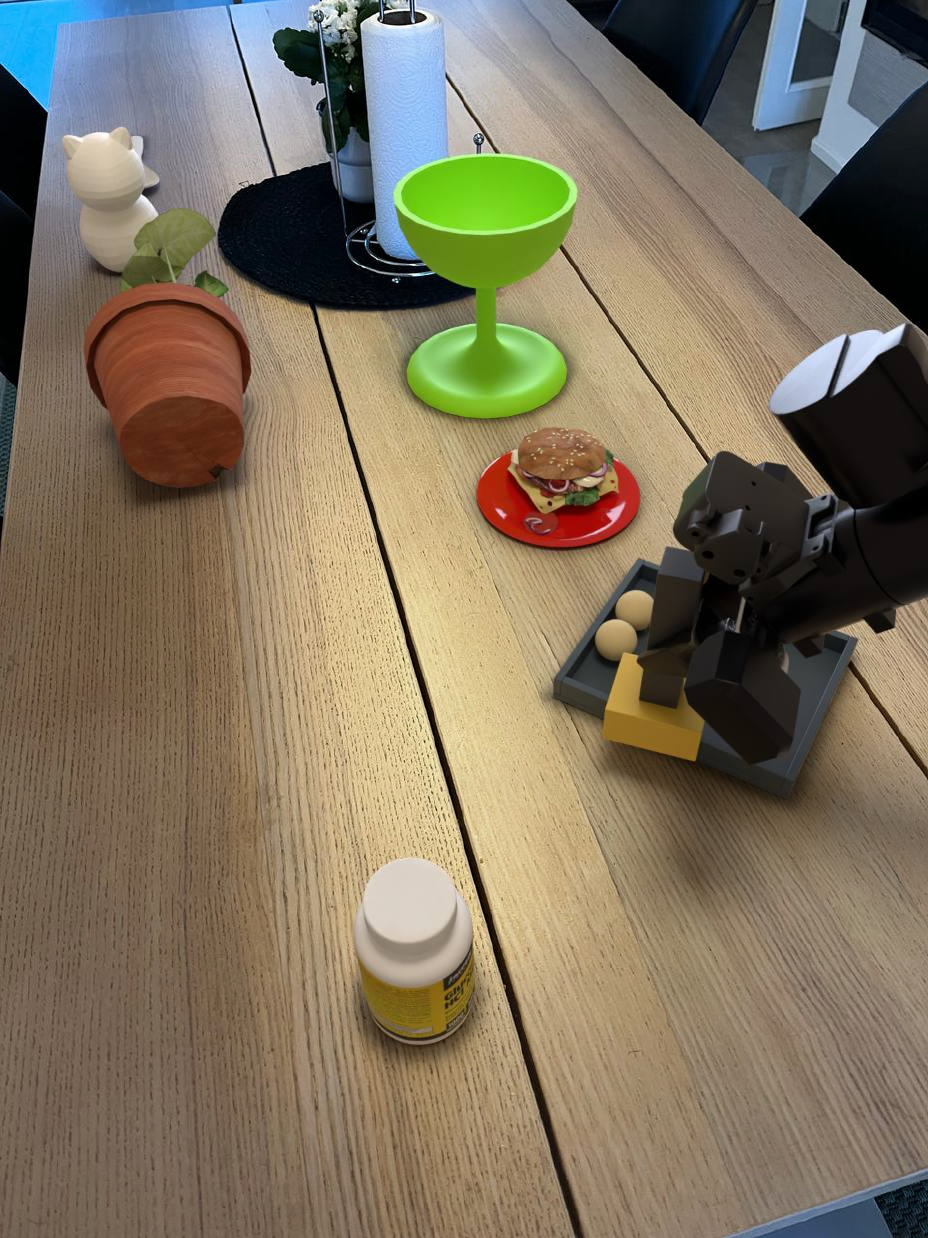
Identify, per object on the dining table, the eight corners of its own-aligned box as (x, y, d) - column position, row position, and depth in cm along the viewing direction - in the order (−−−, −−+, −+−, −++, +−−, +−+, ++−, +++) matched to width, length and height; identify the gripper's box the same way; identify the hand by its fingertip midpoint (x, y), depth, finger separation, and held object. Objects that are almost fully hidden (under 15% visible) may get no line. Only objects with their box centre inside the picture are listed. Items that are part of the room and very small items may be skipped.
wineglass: (549, 428, 95) (557, 243, 82) (385, 405, 98) (368, 224, 85) (580, 338, 105) (592, 161, 92) (432, 319, 108) (423, 146, 95)
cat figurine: (95, 288, 115) (52, 152, 104) (85, 239, 123) (44, 108, 112) (175, 273, 117) (141, 138, 106) (160, 226, 125) (127, 96, 114)
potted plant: (291, 496, 91) (235, 280, 113) (253, 357, 79) (199, 145, 100) (116, 538, 89) (92, 311, 111) (51, 402, 77) (38, 176, 98)
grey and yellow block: (709, 702, 67) (745, 545, 57) (695, 762, 64) (731, 606, 54) (619, 681, 69) (639, 524, 58) (601, 738, 65) (619, 582, 55)
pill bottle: (466, 1056, 56) (461, 968, 48) (356, 1039, 56) (332, 949, 48) (482, 949, 60) (480, 851, 52) (379, 935, 61) (361, 836, 53)
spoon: (130, 200, 130) (127, 187, 129) (119, 138, 144) (116, 126, 142) (163, 195, 131) (160, 182, 129) (149, 134, 144) (146, 122, 143)
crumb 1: (624, 588, 77) (654, 613, 78) (601, 617, 76) (632, 642, 77) (639, 577, 75) (670, 603, 75) (616, 607, 74) (648, 633, 74)
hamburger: (451, 470, 91) (449, 414, 86) (590, 430, 94) (595, 374, 90) (519, 570, 82) (521, 513, 77) (670, 521, 85) (680, 464, 81)
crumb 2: (604, 617, 75) (635, 643, 76) (581, 646, 74) (612, 673, 75) (619, 606, 73) (651, 633, 73) (596, 637, 72) (628, 664, 72)
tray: (851, 657, 75) (858, 638, 73) (786, 800, 66) (793, 781, 65) (635, 576, 81) (638, 557, 79) (552, 697, 73) (553, 678, 71)
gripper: (813, 337, 54) (597, 464, 65) (765, 568, 42) (510, 677, 53) (925, 481, 58) (704, 578, 69) (909, 730, 46) (644, 802, 57)
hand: (645, 648), depth 62 cm, fingers closed on grey and yellow block, 2 cm apart
